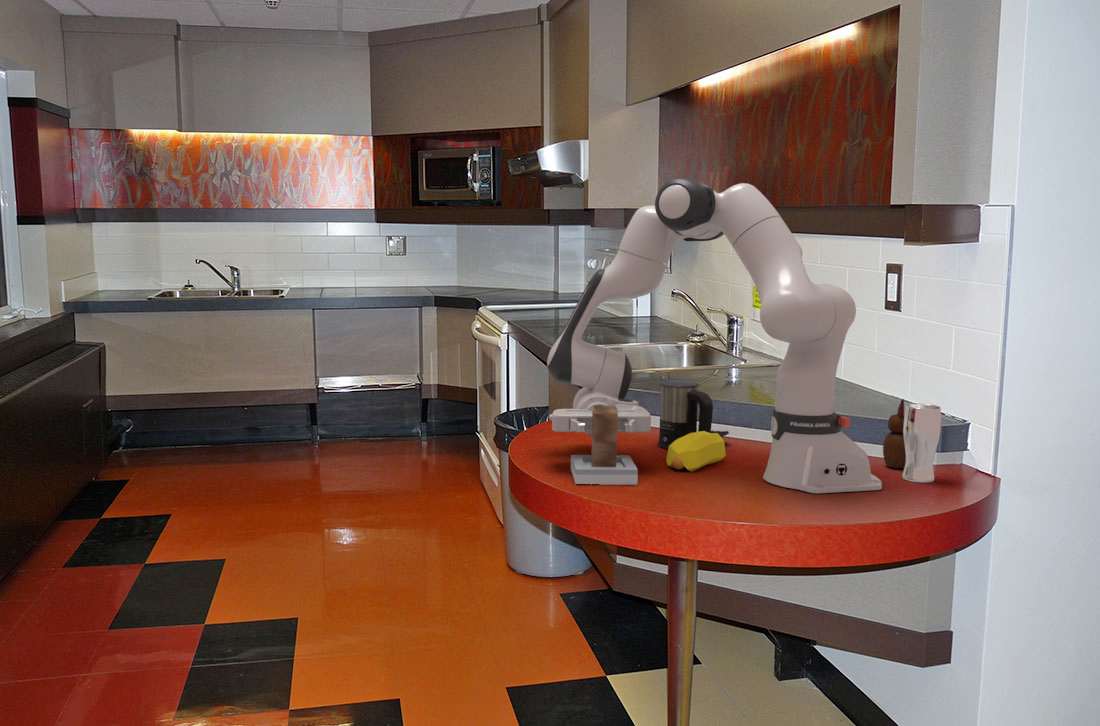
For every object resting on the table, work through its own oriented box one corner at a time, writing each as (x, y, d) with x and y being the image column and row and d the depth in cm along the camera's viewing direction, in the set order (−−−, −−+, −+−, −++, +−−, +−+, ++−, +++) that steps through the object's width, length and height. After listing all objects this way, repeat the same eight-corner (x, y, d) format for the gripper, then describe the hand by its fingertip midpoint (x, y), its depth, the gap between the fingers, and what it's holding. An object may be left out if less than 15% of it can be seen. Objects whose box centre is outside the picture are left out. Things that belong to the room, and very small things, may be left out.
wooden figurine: (907, 472, 191) (912, 401, 189) (879, 468, 194) (883, 398, 192) (914, 465, 197) (919, 396, 195) (886, 461, 200) (890, 394, 198)
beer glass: (937, 477, 188) (942, 405, 186) (936, 485, 181) (941, 410, 179) (900, 473, 190) (905, 402, 188) (898, 480, 184) (903, 407, 182)
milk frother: (650, 446, 211) (652, 383, 209) (678, 435, 224) (681, 375, 222) (708, 455, 203) (710, 389, 201) (734, 443, 216) (737, 380, 215)
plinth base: (628, 469, 189) (629, 455, 189) (637, 484, 177) (637, 469, 177) (570, 469, 189) (571, 454, 188) (575, 484, 177) (575, 469, 176)
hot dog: (658, 469, 190) (691, 476, 186) (659, 438, 189) (692, 443, 185) (700, 454, 205) (731, 460, 200) (701, 425, 204) (733, 430, 199)
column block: (613, 464, 185) (615, 405, 184) (616, 469, 181) (618, 409, 179) (590, 464, 185) (592, 405, 183) (593, 469, 180) (594, 409, 179)
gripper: (548, 400, 194) (552, 412, 180) (644, 400, 195) (655, 413, 181) (548, 429, 194) (551, 444, 181) (643, 430, 196) (654, 444, 182)
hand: (604, 428), depth 181 cm, fingers open, 8 cm apart
